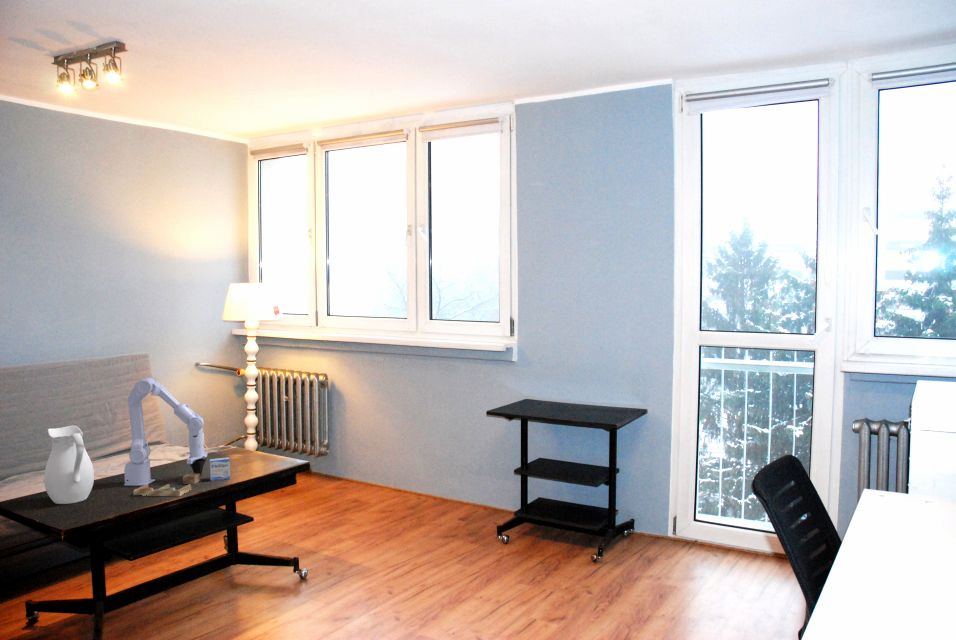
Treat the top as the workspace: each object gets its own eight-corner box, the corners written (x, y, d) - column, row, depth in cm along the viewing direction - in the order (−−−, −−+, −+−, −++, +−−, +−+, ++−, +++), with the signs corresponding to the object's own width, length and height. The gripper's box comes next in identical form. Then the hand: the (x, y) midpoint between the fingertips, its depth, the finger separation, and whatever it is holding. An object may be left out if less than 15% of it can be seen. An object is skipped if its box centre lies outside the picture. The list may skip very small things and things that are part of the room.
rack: (133, 495, 294) (133, 488, 294) (146, 489, 303) (145, 482, 303) (180, 496, 292) (179, 488, 292) (191, 489, 301) (190, 482, 301)
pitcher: (40, 500, 291) (36, 429, 290) (88, 491, 302) (84, 422, 301) (56, 513, 273) (51, 437, 272) (106, 503, 284) (102, 430, 283)
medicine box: (210, 481, 314) (209, 460, 313) (210, 479, 318) (209, 458, 317) (230, 479, 316) (229, 458, 316) (229, 476, 321) (228, 456, 320)
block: (183, 484, 310) (182, 476, 310) (189, 481, 315) (188, 473, 315) (194, 484, 309) (194, 476, 309) (200, 481, 314) (200, 473, 314)
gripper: (197, 448, 309) (199, 481, 310) (213, 441, 324) (214, 472, 324) (181, 448, 310) (182, 481, 311) (197, 441, 324) (199, 472, 325)
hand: (198, 476), depth 318 cm, fingers closed
